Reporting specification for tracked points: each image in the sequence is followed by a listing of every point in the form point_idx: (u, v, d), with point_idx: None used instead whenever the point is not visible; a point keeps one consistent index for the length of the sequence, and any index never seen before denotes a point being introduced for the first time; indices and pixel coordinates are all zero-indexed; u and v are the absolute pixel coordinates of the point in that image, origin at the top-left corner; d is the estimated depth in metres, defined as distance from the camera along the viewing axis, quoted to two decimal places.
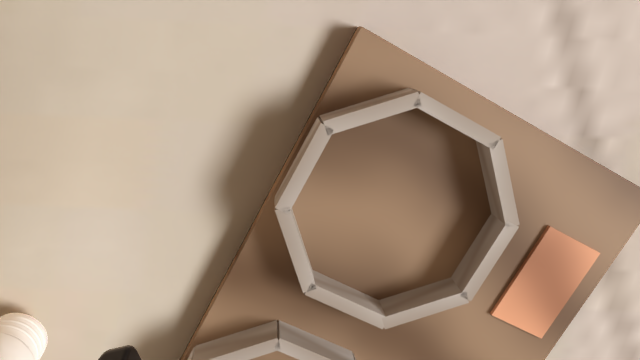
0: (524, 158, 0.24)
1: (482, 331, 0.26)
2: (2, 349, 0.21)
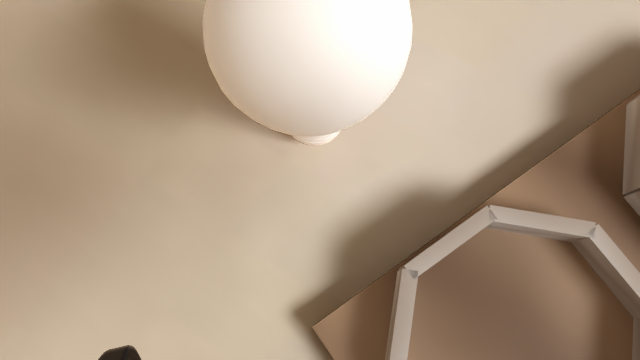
0: None
1: None
2: None
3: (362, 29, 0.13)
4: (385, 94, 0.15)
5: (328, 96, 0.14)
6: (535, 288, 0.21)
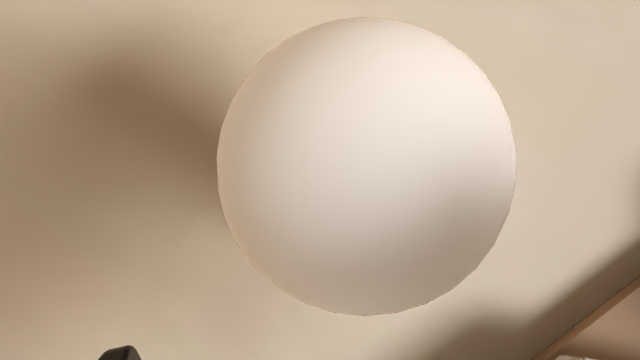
0: None
1: None
2: None
3: (461, 199, 0.09)
4: None
5: (404, 290, 0.09)
6: None
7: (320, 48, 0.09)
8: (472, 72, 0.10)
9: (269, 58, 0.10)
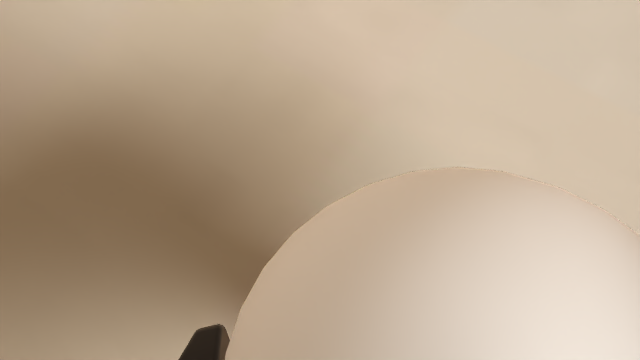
0: None
1: None
2: None
3: None
4: None
5: None
6: None
7: (416, 280, 0.05)
8: None
9: (312, 265, 0.06)
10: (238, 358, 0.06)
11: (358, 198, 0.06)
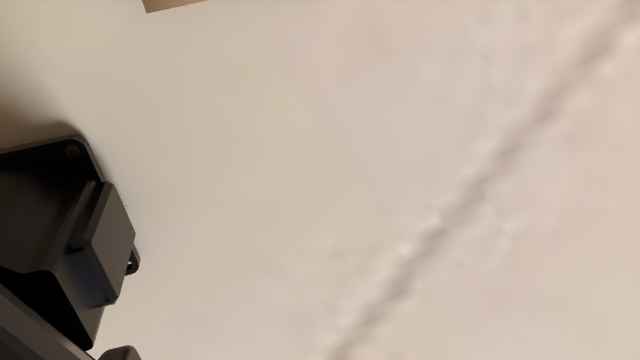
0: None
1: None
2: None
3: None
4: None
5: None
6: None
7: None
8: None
9: None
10: None
11: None
